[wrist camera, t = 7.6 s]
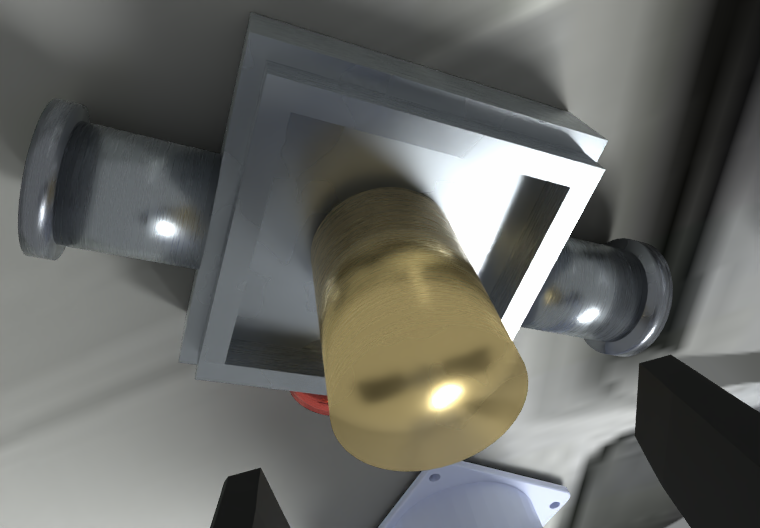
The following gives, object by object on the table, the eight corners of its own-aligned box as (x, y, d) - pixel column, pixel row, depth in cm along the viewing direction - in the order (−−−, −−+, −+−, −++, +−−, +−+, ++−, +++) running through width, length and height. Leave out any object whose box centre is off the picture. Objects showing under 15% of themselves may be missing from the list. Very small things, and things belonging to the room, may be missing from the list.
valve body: (672, 144, 20) (754, 196, 17) (529, 387, 25) (570, 464, 22) (81, -42, 15) (28, -19, 11) (51, 320, 20) (9, 409, 16)
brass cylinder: (408, 326, 19) (460, 485, 14) (286, 285, 18) (296, 449, 13) (480, 220, 17) (567, 359, 12) (352, 163, 16) (392, 297, 11)
